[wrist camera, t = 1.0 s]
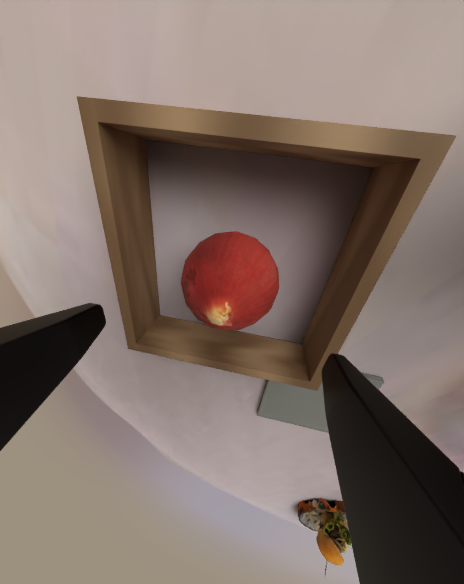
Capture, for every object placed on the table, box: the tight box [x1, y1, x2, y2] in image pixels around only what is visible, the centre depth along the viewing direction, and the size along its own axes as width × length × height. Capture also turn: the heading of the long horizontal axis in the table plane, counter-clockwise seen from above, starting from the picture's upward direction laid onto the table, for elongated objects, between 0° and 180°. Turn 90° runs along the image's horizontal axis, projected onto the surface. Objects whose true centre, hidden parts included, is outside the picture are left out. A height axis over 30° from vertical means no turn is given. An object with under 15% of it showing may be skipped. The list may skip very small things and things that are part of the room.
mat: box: [257, 373, 384, 433], centre depth 21 cm, size 10×10×1 cm
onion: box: [181, 231, 279, 331], centre depth 12 cm, size 6×6×8 cm
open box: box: [77, 97, 456, 391], centre depth 14 cm, size 16×16×4 cm
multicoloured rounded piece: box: [297, 498, 351, 570], centre depth 32 cm, size 12×12×8 cm
